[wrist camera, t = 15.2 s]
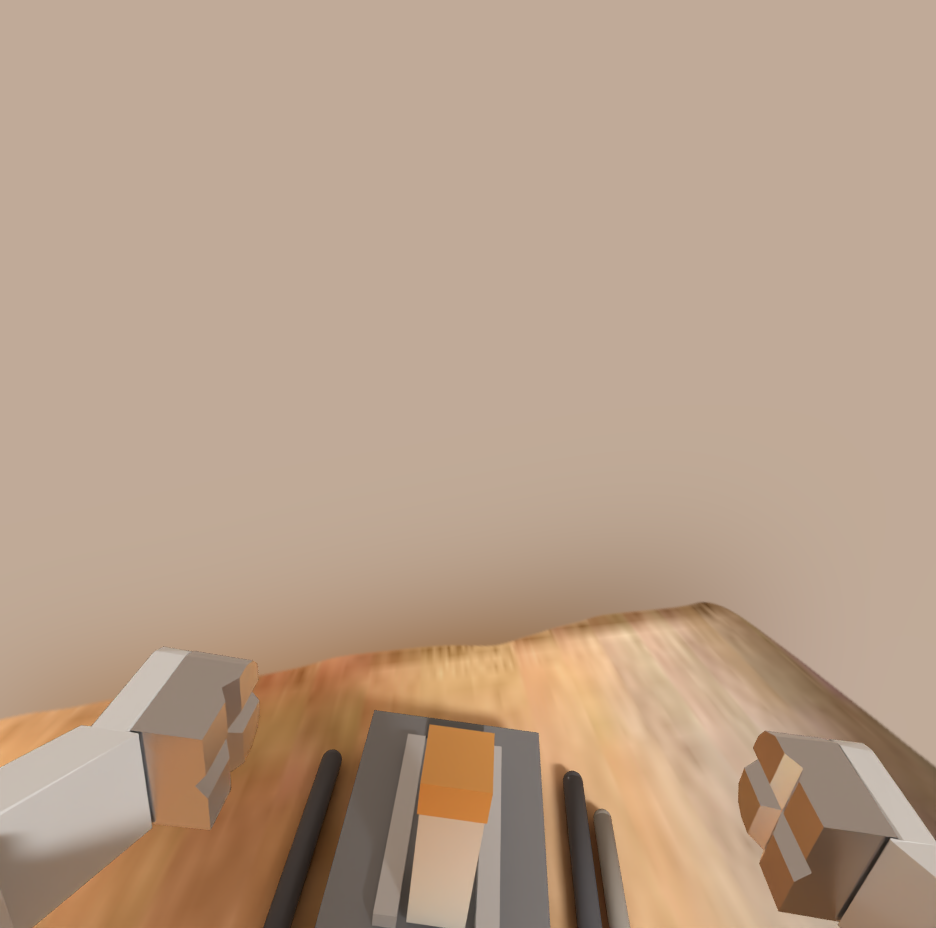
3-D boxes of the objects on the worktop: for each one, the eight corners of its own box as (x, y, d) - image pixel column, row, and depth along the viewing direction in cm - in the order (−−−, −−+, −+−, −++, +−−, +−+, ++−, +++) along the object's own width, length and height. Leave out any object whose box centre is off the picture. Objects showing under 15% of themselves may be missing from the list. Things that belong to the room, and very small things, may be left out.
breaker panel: (371, 749, 43) (375, 699, 41) (529, 771, 43) (540, 722, 41) (301, 1022, 28) (301, 965, 26) (541, 1057, 28) (559, 1002, 26)
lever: (413, 859, 32) (429, 724, 28) (470, 867, 32) (494, 733, 28) (403, 924, 29) (420, 783, 25) (466, 933, 29) (492, 793, 25)
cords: (328, 746, 43) (329, 732, 42) (602, 784, 43) (606, 771, 42) (236, 1014, 28) (235, 999, 28) (651, 1075, 28) (658, 1060, 27)
